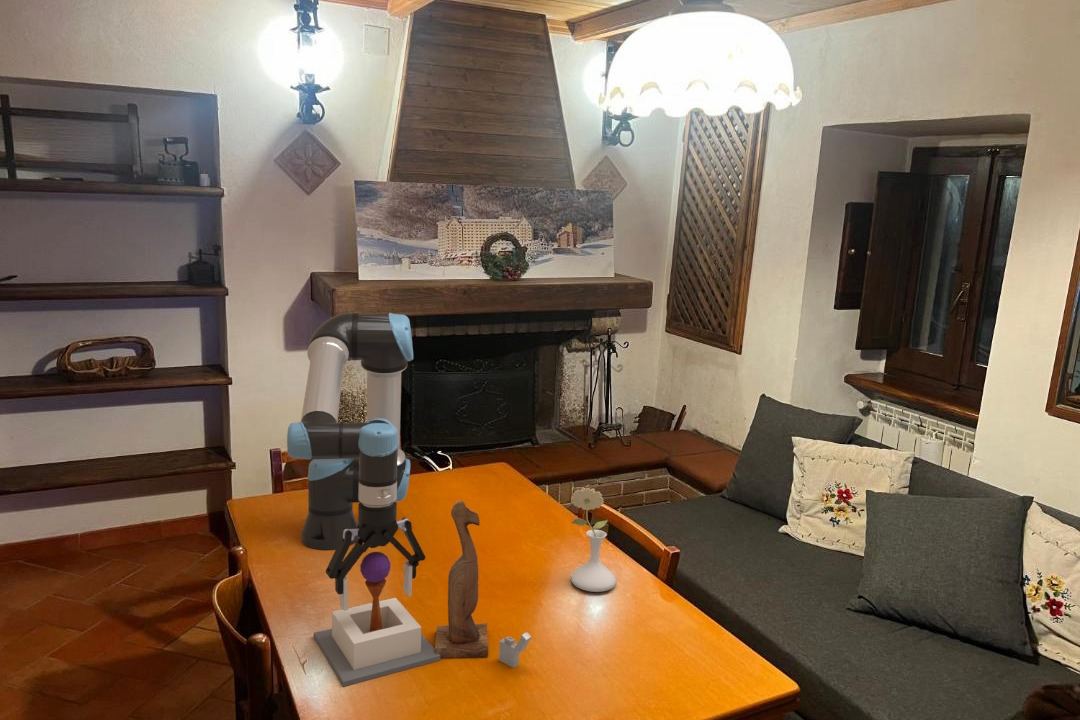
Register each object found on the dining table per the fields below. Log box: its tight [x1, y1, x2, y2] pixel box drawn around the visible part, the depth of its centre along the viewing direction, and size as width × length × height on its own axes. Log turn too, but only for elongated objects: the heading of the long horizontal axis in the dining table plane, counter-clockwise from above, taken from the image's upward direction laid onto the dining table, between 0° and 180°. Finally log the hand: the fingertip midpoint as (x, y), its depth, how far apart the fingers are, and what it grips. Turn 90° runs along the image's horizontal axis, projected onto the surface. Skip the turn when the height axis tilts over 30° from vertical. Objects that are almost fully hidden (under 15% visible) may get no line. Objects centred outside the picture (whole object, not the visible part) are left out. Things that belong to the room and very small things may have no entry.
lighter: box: [498, 632, 532, 669], centre depth 159 cm, size 7×2×8 cm, turn 50°
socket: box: [313, 597, 441, 688], centre depth 162 cm, size 20×20×6 cm
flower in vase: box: [570, 487, 617, 593], centre depth 194 cm, size 13×11×25 cm
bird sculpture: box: [434, 500, 489, 660], centre depth 163 cm, size 11×12×32 cm
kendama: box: [359, 551, 391, 632], centre depth 161 cm, size 6×6×20 cm
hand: (376, 600), depth 161 cm, fingers open, 13 cm apart
